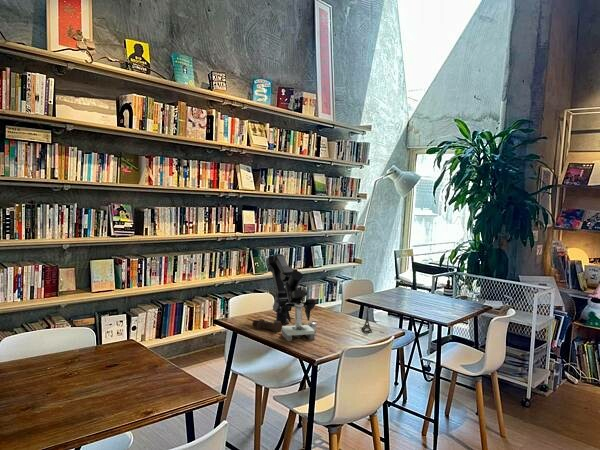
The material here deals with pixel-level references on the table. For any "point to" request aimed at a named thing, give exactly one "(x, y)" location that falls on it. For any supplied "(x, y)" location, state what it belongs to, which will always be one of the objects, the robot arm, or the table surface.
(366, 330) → the eiffel tower figurine
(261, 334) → the table surface
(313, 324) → the short stub
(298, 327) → the long pin
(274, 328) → the bolt
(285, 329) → the square washer plate
